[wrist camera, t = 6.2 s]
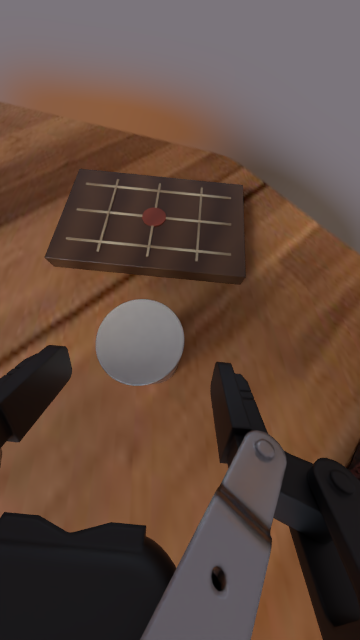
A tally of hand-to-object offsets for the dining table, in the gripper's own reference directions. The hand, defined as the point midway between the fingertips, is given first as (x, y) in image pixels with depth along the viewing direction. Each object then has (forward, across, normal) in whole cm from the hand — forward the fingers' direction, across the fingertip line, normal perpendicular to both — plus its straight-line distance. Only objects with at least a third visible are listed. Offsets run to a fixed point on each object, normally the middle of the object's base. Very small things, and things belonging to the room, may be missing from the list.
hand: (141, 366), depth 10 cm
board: (+16, +2, -7) cm, 18 cm away
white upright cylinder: (+6, 0, +4) cm, 7 cm away
